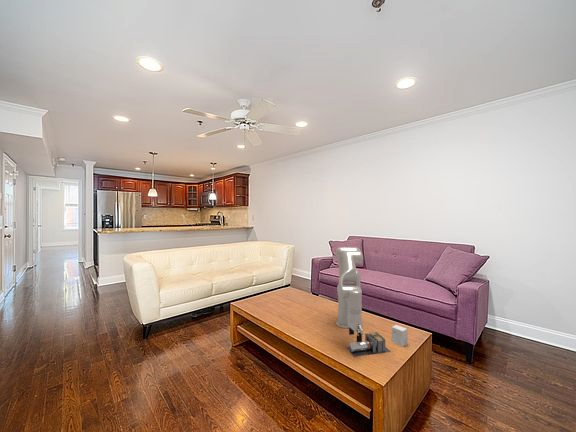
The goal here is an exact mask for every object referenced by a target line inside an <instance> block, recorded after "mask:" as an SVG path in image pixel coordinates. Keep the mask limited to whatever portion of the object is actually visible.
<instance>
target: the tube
mask: <svg viewBox="0 0 576 432" xmlns="http://www.w3.org/2000/svg"><path fill="white" fill-rule="evenodd" d="M375 340H376V339H375ZM348 347H349V349H350V351H351V352H355V351H362V350H369V349H372V341H371V340H367V341H365V340H362V342H357V341H354V342H349V343H348ZM376 348H377V340H376Z"/></svg>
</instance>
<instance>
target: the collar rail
mask: <svg viewBox="0 0 576 432" xmlns="http://www.w3.org/2000/svg"><path fill="white" fill-rule="evenodd" d="M364 338H365V339H364V341H367V340H371V341H372V349H369V350H362V351H355V352H351V351H350V349H349V346H348V347H345V349H346V350H348V351H349V353H350V354H351V355H352V356H353V358H357V357H363V356H372V355H378V354H386V353H392V351H391V350H390V349H389V348H388V347H387V346H386V338H384V337H383V336H382V335H381V334H379V332H377V331H375V332H374V331H370V332H368V333H365V334H364ZM375 339H376V340H377V348H376V340H375Z"/></svg>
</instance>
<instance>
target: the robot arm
mask: <svg viewBox="0 0 576 432" xmlns="http://www.w3.org/2000/svg"><path fill="white" fill-rule="evenodd" d="M335 256H336V257H335V258H336V259H337V262H338V284H337V286H336V287H337V288H336V291H337V304H338V305H337V307H338V309H337V321H335V324H336V326H338V327H339V328H342V329H348V335H349V336H351V335H355V332H356V342H362V341H363V334H364V329H363V320H362V313H363V312H362V310H363V309H362V306H363V305H362V301H363V299H362V298H363V297H362V293H363V291H362V288H361V286H362V285H361V272H360V271H359V270H358V269H357V267H356V264H362V263H363V262H364V255H363V252H362V251H361V249H360V248H359V247H357V246H356V247H355V246H342V247H340V246H339V247H337V248H336V249H335ZM349 282H350V283H349Z"/></svg>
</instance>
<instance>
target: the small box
mask: <svg viewBox="0 0 576 432" xmlns="http://www.w3.org/2000/svg"><path fill="white" fill-rule="evenodd" d="M391 342H392V343H395V344H396V345H399V346H400V347H405V346H408V328H406V327H404V326H402V325H398V324H395V325H392V326H391Z"/></svg>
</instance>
